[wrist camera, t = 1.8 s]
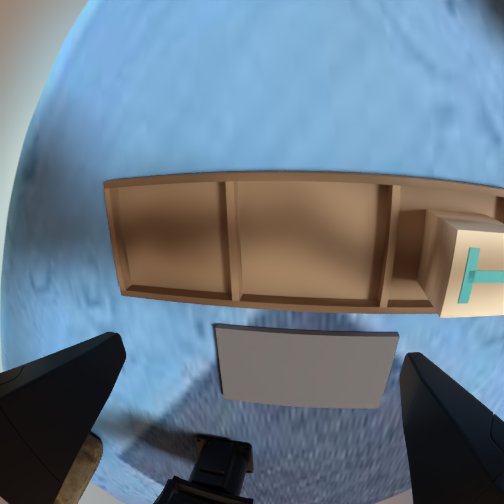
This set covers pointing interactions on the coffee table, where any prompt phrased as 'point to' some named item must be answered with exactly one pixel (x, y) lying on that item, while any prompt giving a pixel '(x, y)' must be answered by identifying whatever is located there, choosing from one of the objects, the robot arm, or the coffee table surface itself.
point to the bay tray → (282, 237)
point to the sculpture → (81, 471)
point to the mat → (305, 366)
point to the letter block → (462, 264)
